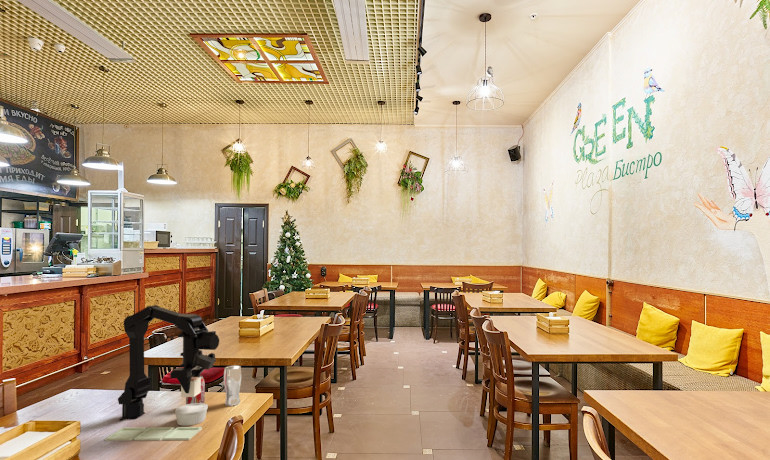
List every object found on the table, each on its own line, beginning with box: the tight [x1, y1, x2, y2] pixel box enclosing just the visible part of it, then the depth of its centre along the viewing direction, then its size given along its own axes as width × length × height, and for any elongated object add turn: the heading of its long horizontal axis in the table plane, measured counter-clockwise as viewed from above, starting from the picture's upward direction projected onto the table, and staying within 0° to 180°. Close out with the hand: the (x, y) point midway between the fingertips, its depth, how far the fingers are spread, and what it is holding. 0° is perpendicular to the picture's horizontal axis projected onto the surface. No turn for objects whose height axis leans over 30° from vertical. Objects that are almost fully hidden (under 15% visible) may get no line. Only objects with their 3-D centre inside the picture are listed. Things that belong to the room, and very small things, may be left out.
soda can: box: [185, 375, 206, 405], centre depth 172 cm, size 7×7×12 cm
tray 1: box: [104, 426, 148, 442], centre depth 145 cm, size 9×9×1 cm
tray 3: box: [162, 426, 203, 441], centre depth 144 cm, size 9×9×1 cm
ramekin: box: [174, 402, 209, 427], centre depth 157 cm, size 11×11×5 cm
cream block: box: [180, 377, 201, 398], centre depth 157 cm, size 5×5×6 cm
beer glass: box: [223, 364, 242, 407], centre depth 176 cm, size 7×7×15 cm
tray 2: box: [133, 426, 175, 441], centre depth 145 cm, size 9×9×1 cm
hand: (190, 390), depth 157 cm, fingers closed on cream block, 5 cm apart
